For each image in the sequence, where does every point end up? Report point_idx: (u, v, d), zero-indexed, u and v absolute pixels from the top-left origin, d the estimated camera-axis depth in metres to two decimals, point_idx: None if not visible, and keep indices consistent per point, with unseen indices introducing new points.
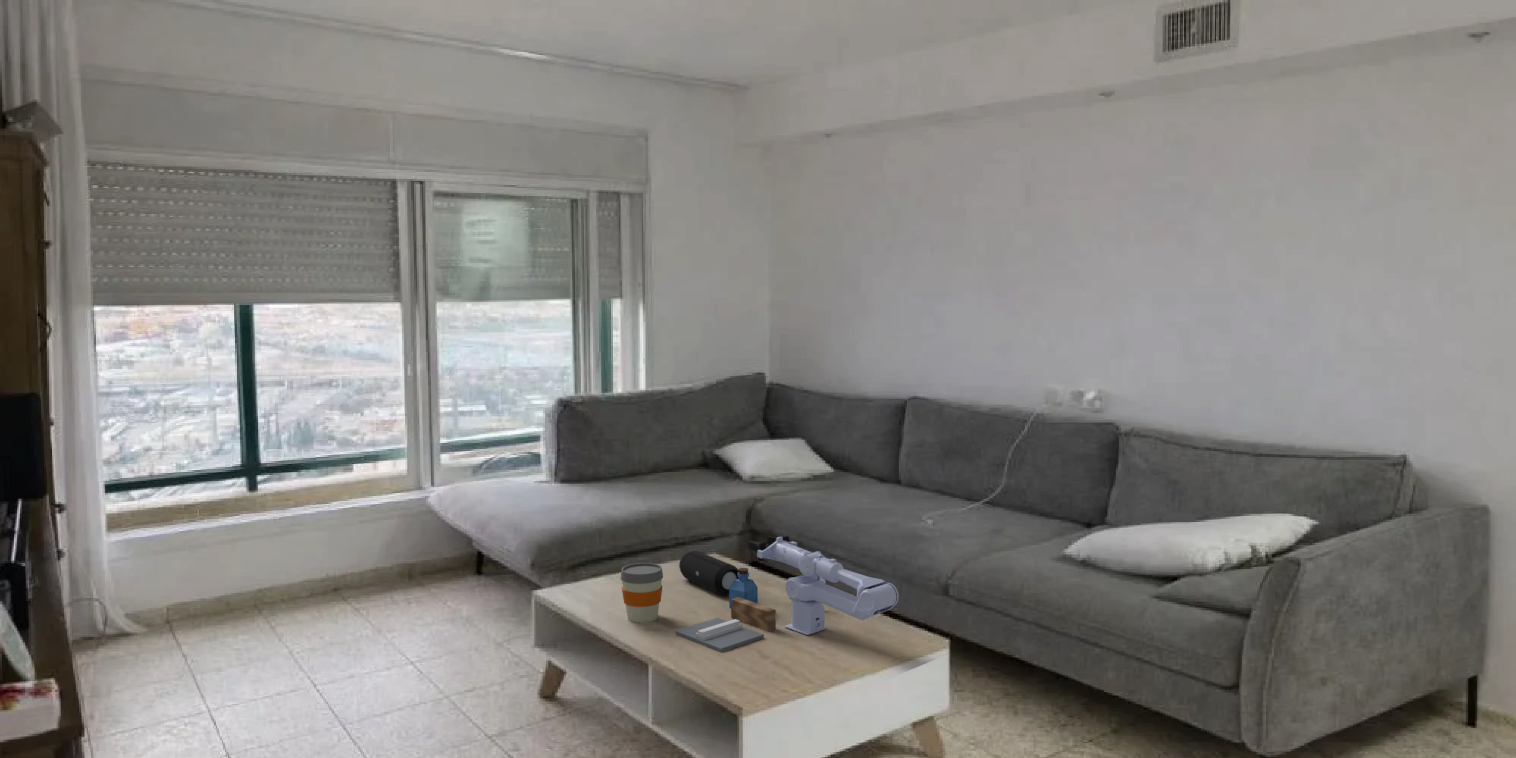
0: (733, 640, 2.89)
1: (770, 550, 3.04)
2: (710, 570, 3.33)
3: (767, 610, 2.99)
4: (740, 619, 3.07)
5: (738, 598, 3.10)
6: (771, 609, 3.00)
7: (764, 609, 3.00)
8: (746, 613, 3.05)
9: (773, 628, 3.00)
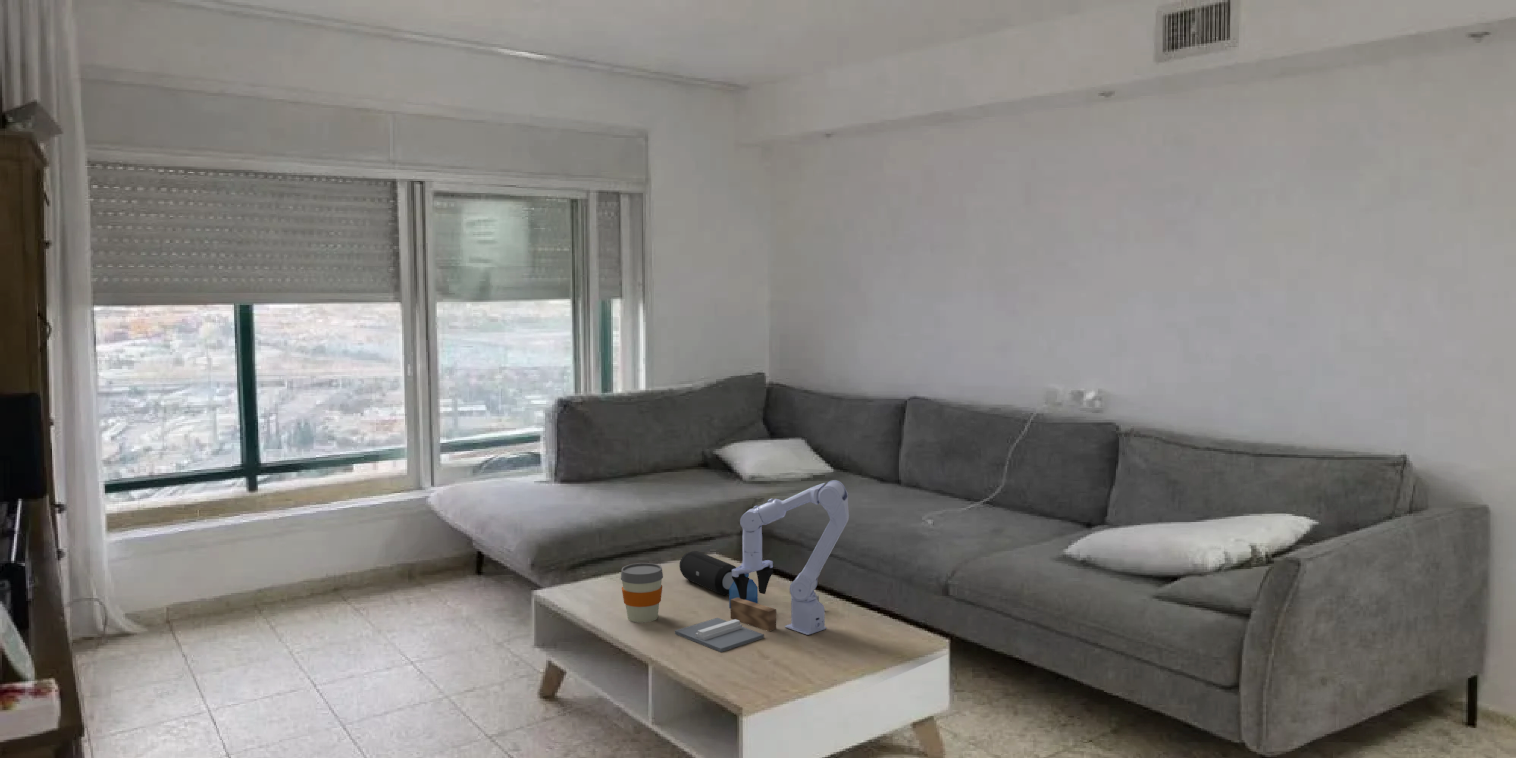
0: (733, 640, 2.89)
1: (742, 568, 3.02)
2: (711, 570, 3.33)
3: (768, 610, 2.99)
4: (740, 619, 3.07)
5: (737, 598, 3.10)
6: (772, 609, 3.00)
7: (765, 608, 3.01)
8: (746, 613, 3.05)
9: (774, 628, 3.00)
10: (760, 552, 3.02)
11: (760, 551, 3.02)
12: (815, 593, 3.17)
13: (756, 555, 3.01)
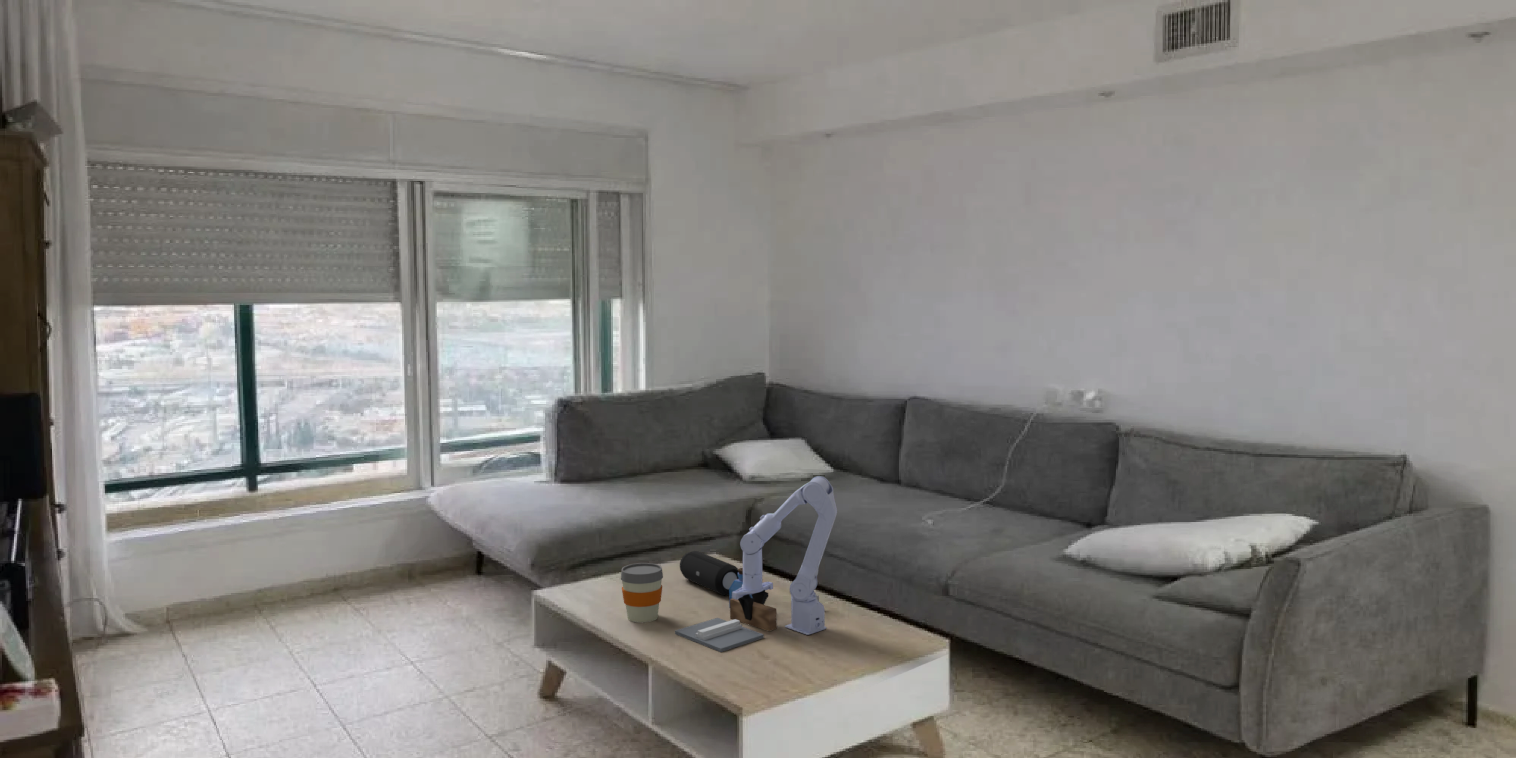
0: (733, 640, 2.89)
1: None
2: (711, 570, 3.33)
3: (768, 609, 2.99)
4: (740, 619, 3.07)
5: None
6: (772, 608, 3.00)
7: (765, 608, 3.01)
8: None
9: (774, 627, 3.00)
10: (760, 574, 3.02)
11: (760, 573, 3.02)
12: (815, 593, 3.17)
13: (756, 577, 3.01)
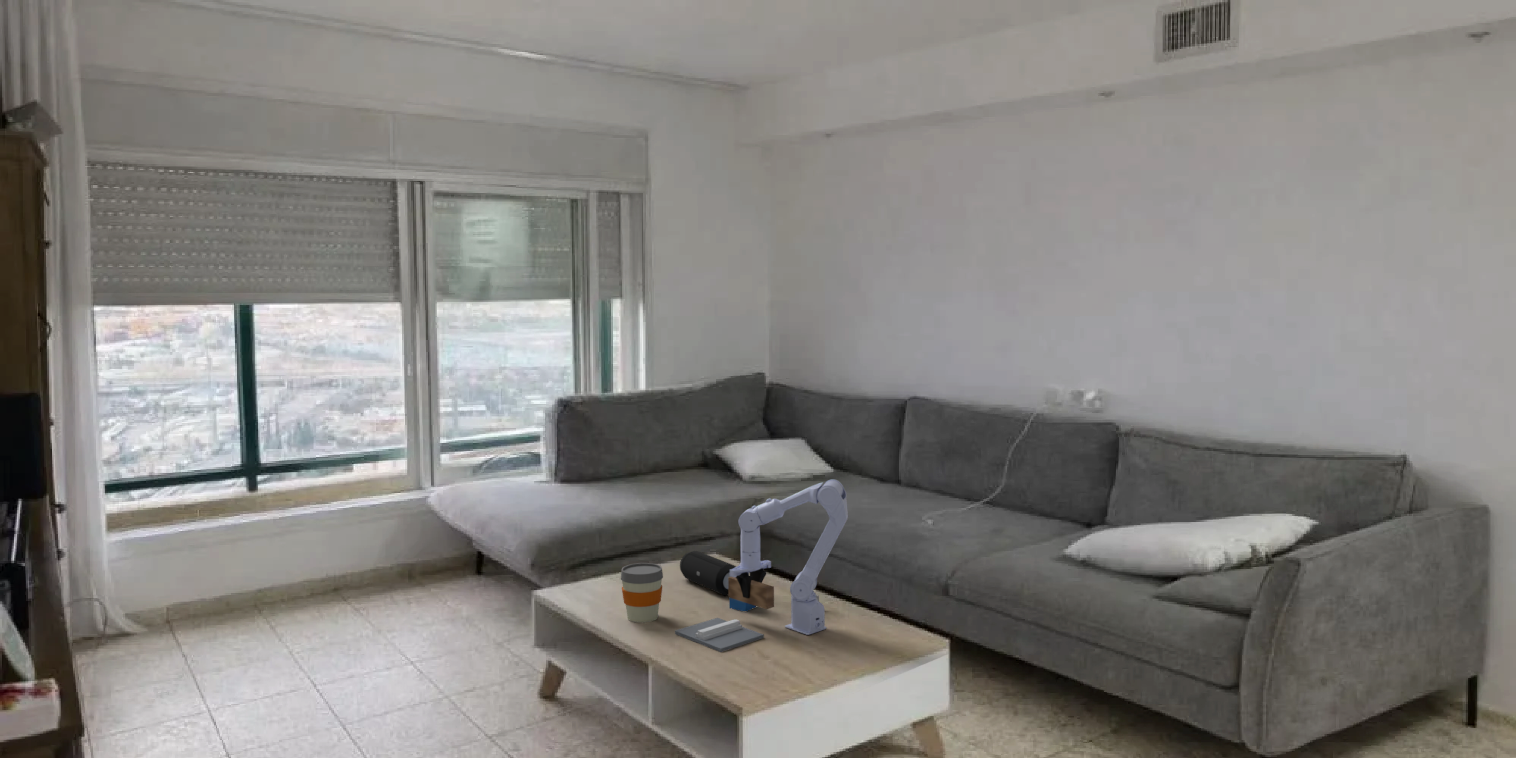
0: (733, 640, 2.89)
1: (740, 568, 3.01)
2: (711, 570, 3.33)
3: (765, 587, 2.98)
4: (738, 597, 3.06)
5: None
6: (769, 586, 2.99)
7: (763, 586, 2.99)
8: None
9: (771, 605, 2.99)
10: (758, 552, 3.01)
11: (758, 551, 3.01)
12: (815, 593, 3.18)
13: (754, 555, 3.00)
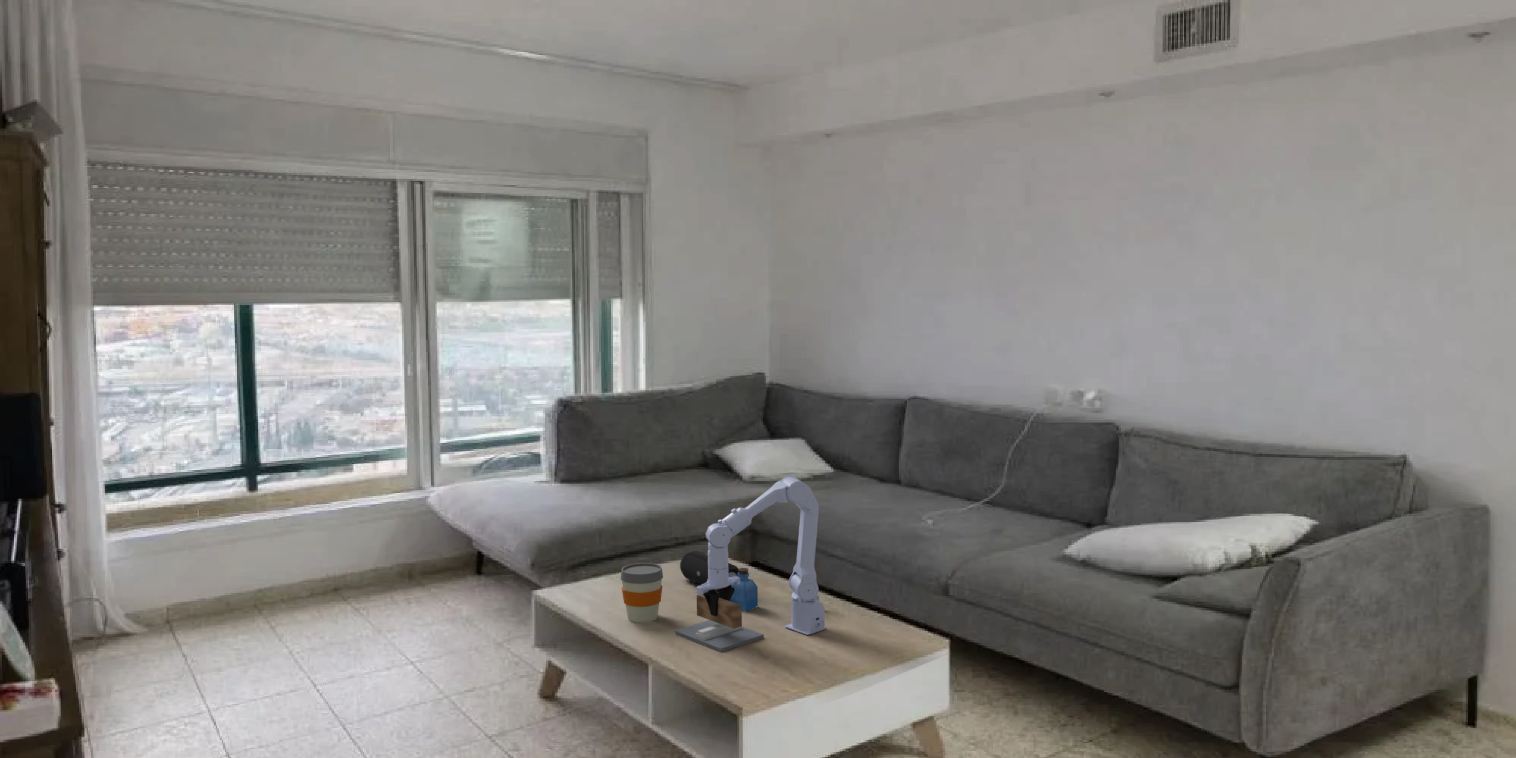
0: (733, 640, 2.89)
1: None
2: None
3: (733, 606, 2.88)
4: (706, 615, 2.96)
5: None
6: (737, 605, 2.89)
7: (730, 604, 2.90)
8: None
9: (739, 625, 2.89)
10: (726, 568, 2.92)
11: (726, 567, 2.92)
12: None
13: (722, 572, 2.91)
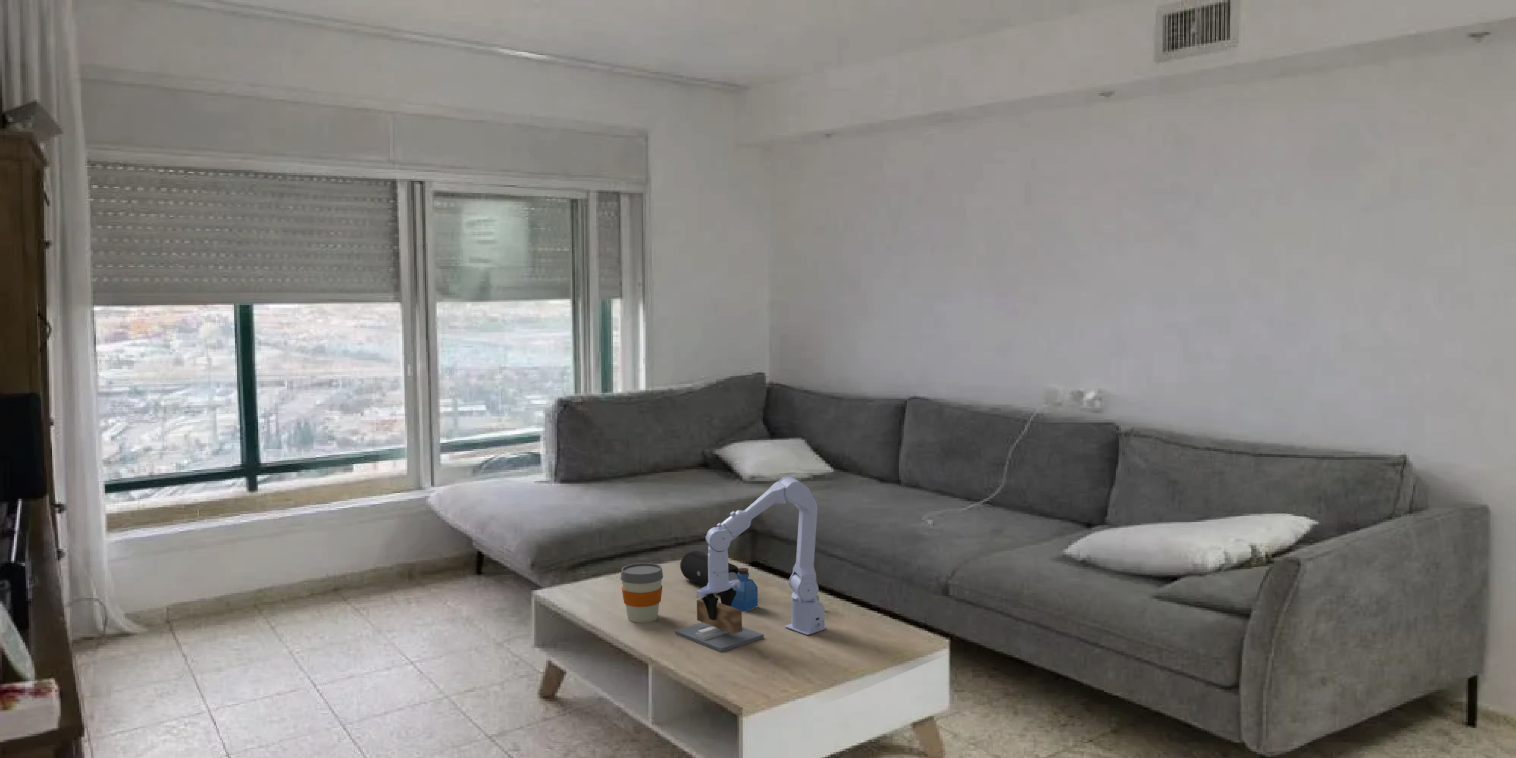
0: (733, 640, 2.89)
1: None
2: None
3: (733, 611, 2.89)
4: (706, 620, 2.97)
5: None
6: (737, 610, 2.89)
7: (730, 610, 2.90)
8: None
9: (739, 630, 2.89)
10: (726, 572, 2.92)
11: (726, 571, 2.92)
12: None
13: (722, 575, 2.91)
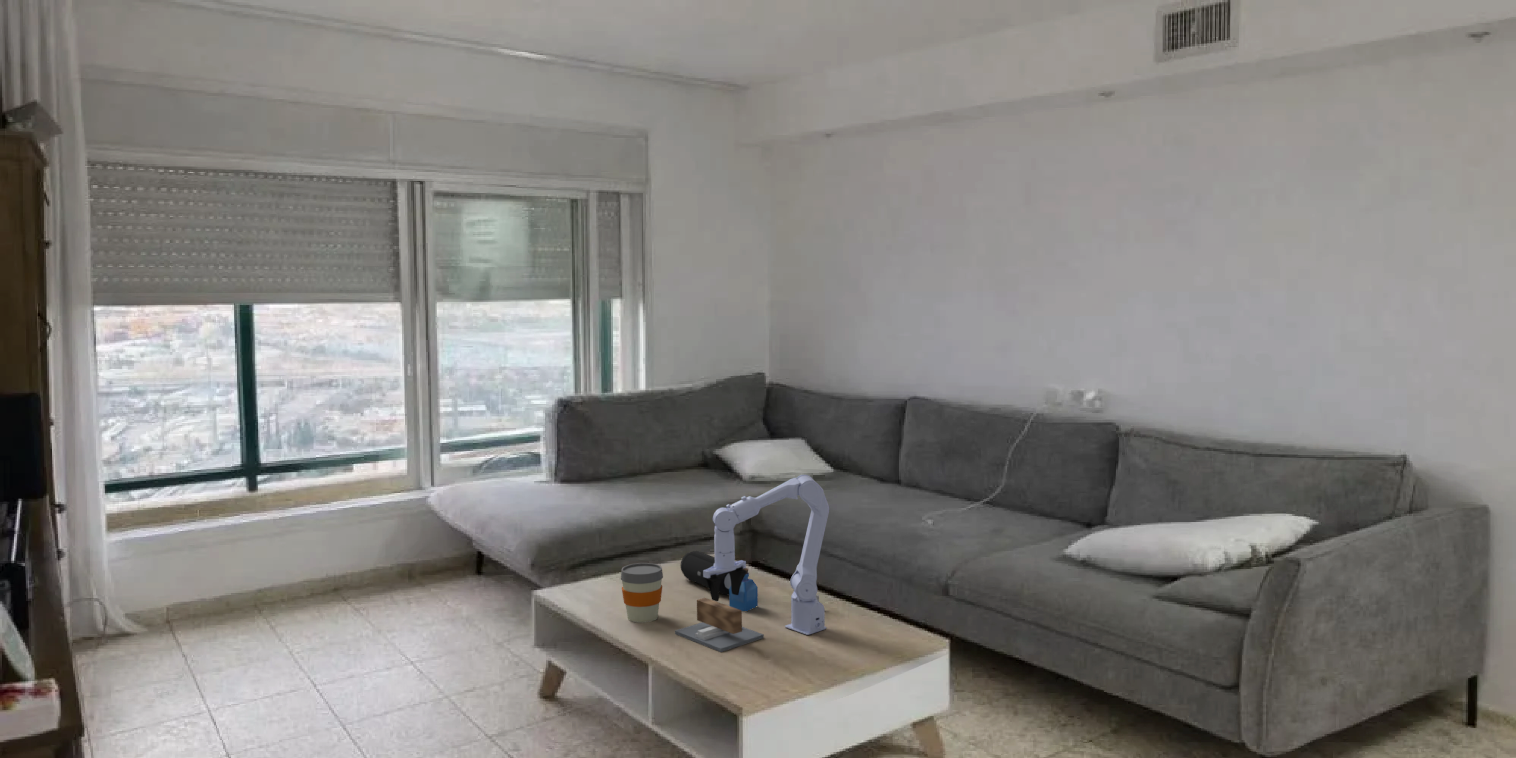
0: (733, 640, 2.89)
1: None
2: None
3: (733, 611, 2.89)
4: (706, 620, 2.97)
5: (704, 599, 3.00)
6: (737, 610, 2.89)
7: (730, 610, 2.90)
8: (712, 614, 2.94)
9: (739, 630, 2.89)
10: (732, 552, 2.94)
11: (732, 551, 2.94)
12: None
13: (728, 555, 2.93)
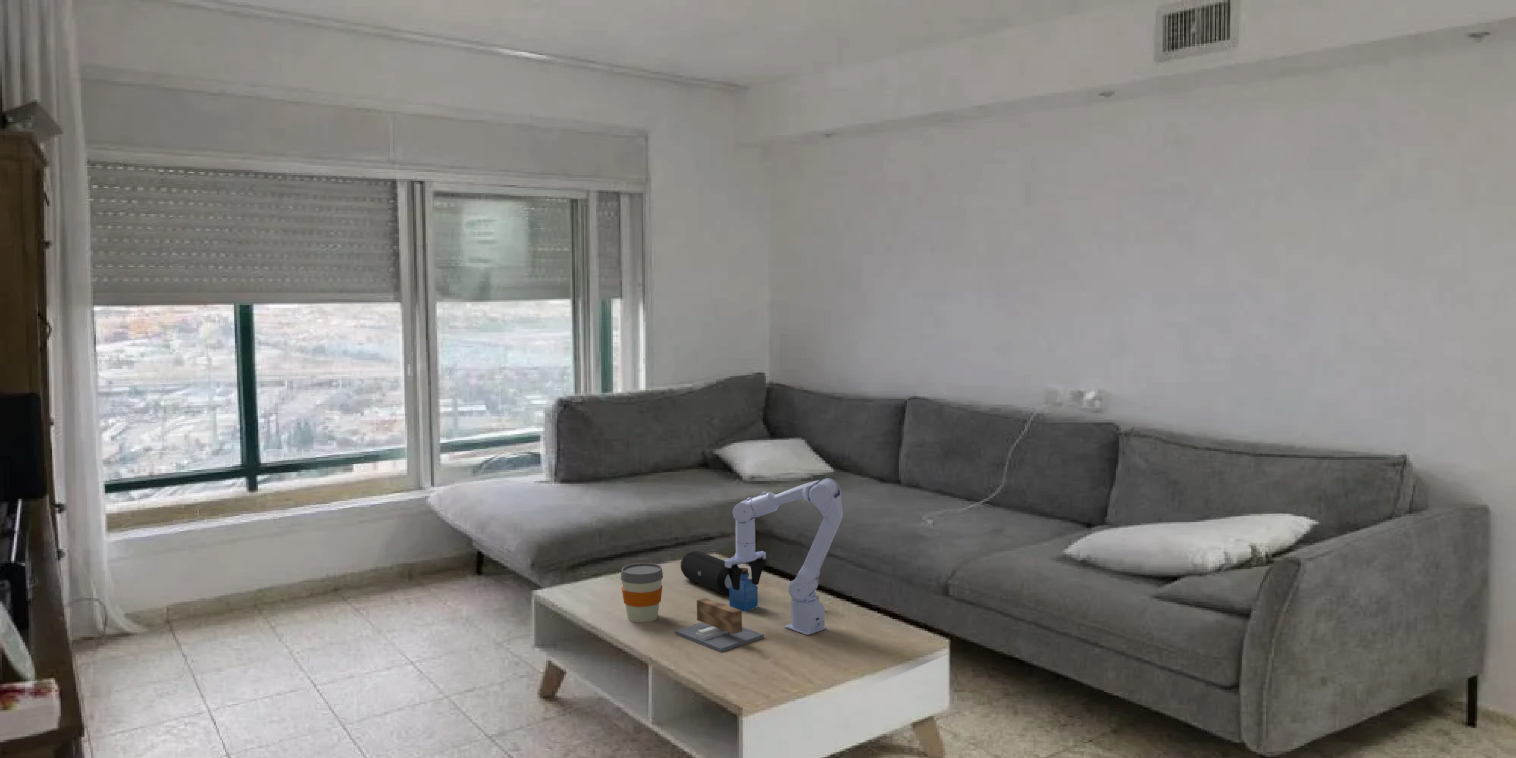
0: (733, 640, 2.89)
1: (735, 559, 3.04)
2: (713, 570, 3.33)
3: (733, 611, 2.89)
4: (706, 620, 2.97)
5: (704, 599, 3.00)
6: (737, 610, 2.89)
7: (730, 610, 2.90)
8: (712, 614, 2.94)
9: (739, 630, 2.89)
10: (753, 543, 3.04)
11: (753, 542, 3.04)
12: None
13: (749, 546, 3.03)
